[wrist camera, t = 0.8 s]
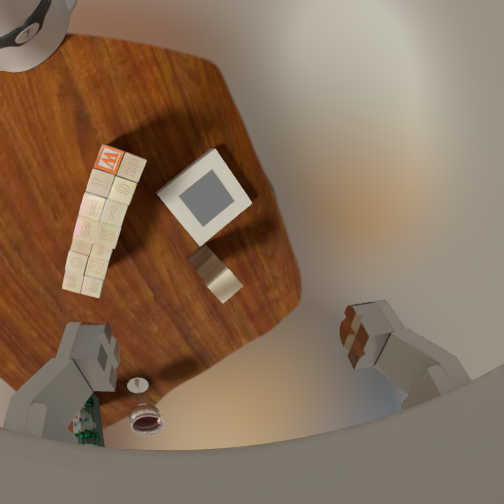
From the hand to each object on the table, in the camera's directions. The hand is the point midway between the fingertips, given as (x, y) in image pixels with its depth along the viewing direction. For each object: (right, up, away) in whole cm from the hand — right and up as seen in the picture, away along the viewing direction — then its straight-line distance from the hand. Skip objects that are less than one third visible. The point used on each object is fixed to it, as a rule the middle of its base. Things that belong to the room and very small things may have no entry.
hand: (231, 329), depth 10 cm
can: (-37, -30, +45) cm, 66 cm away
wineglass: (-24, -27, +50) cm, 61 cm away
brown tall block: (-8, +2, +46) cm, 47 cm away
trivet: (-8, +12, +42) cm, 45 cm away
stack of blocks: (-24, +9, +36) cm, 44 cm away
